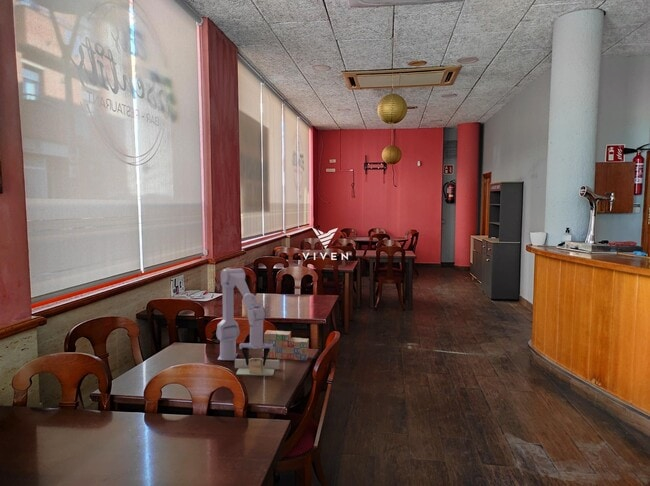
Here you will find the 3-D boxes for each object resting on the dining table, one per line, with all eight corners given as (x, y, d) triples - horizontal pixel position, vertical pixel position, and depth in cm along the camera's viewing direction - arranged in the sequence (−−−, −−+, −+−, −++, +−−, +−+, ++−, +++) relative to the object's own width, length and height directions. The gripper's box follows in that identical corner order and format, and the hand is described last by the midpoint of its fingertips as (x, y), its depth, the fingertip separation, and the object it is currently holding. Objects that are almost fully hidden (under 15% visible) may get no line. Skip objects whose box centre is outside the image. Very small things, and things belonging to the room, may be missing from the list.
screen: (235, 367, 201) (235, 358, 200) (279, 368, 201) (279, 359, 201) (234, 368, 200) (234, 359, 199) (279, 369, 200) (279, 360, 200)
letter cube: (250, 368, 198) (251, 357, 198) (261, 369, 198) (262, 357, 198) (249, 372, 193) (249, 361, 193) (260, 373, 193) (260, 361, 193)
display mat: (238, 369, 199) (238, 368, 199) (274, 369, 199) (274, 368, 199) (236, 374, 192) (236, 373, 192) (273, 375, 192) (273, 374, 192)
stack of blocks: (308, 357, 219) (309, 332, 218) (306, 361, 213) (306, 336, 212) (266, 353, 222) (267, 329, 221) (263, 357, 216) (263, 332, 215)
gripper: (238, 336, 190) (237, 367, 191) (272, 337, 190) (271, 368, 191) (240, 332, 197) (240, 362, 198) (273, 333, 197) (272, 362, 198)
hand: (255, 364), depth 195 cm, fingers open, 7 cm apart
